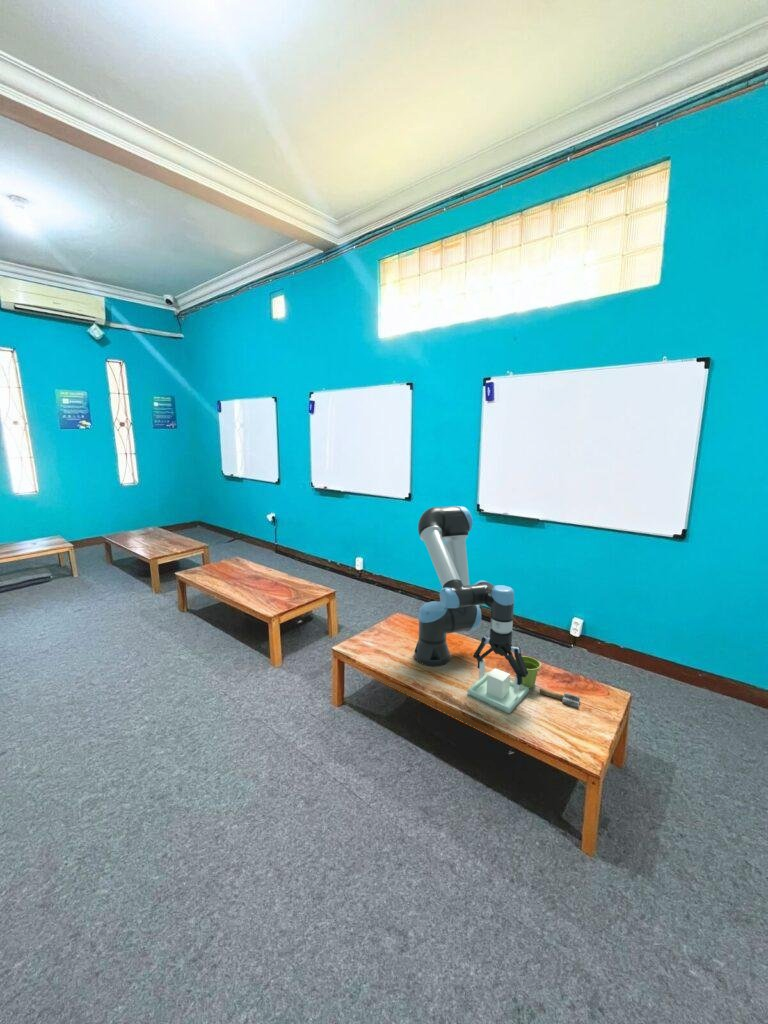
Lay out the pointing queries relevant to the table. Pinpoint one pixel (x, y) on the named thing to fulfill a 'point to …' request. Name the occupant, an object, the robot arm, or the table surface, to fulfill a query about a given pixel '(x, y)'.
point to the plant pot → (530, 671)
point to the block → (498, 683)
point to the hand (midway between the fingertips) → (498, 684)
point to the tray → (503, 704)
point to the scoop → (563, 698)
